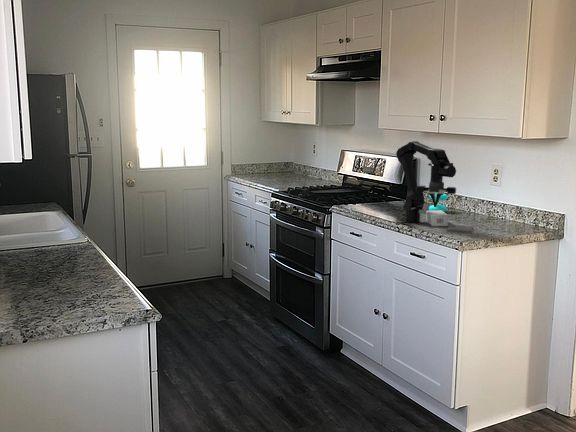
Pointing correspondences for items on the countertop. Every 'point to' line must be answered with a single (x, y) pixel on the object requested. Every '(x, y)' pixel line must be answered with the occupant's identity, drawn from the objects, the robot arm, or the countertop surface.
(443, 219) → the skincare box
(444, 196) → the donuts
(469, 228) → the mat
